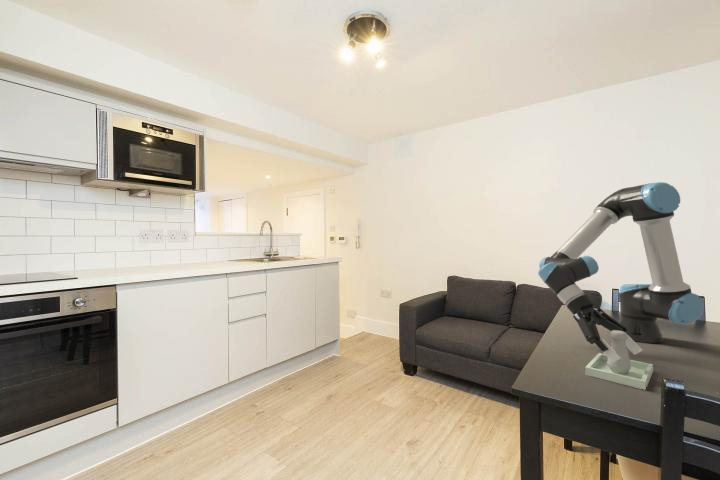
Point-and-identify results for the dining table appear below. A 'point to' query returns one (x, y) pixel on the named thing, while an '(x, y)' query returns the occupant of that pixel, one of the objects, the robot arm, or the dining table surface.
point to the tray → (634, 378)
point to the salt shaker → (619, 353)
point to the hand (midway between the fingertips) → (628, 356)
